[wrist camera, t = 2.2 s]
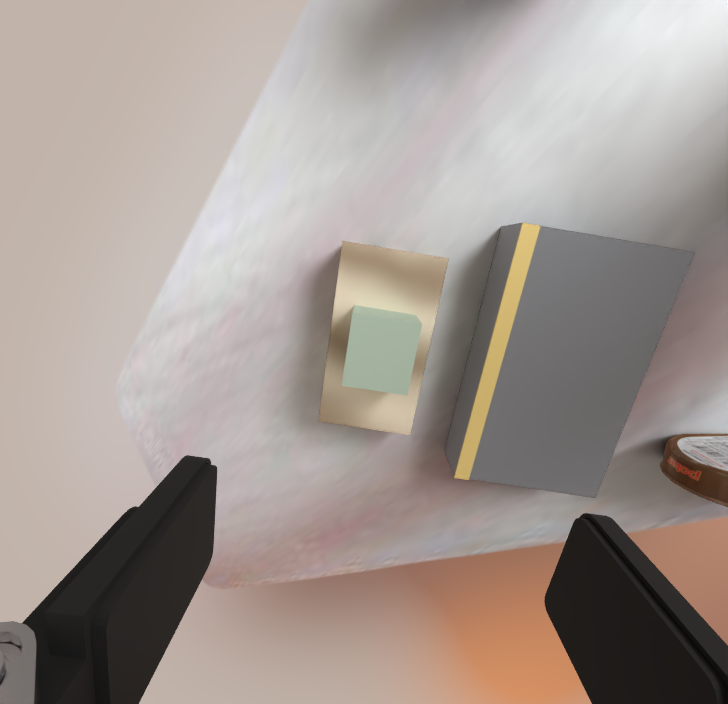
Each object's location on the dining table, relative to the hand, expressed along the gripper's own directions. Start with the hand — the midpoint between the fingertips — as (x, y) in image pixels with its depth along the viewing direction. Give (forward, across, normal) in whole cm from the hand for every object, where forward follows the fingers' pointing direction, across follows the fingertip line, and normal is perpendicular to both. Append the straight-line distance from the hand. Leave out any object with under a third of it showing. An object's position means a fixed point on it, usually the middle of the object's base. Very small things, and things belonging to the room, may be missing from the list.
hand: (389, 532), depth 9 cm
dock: (+22, -14, 0) cm, 26 cm away
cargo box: (+18, 0, 0) cm, 18 cm away
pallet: (+22, 0, 0) cm, 22 cm away
